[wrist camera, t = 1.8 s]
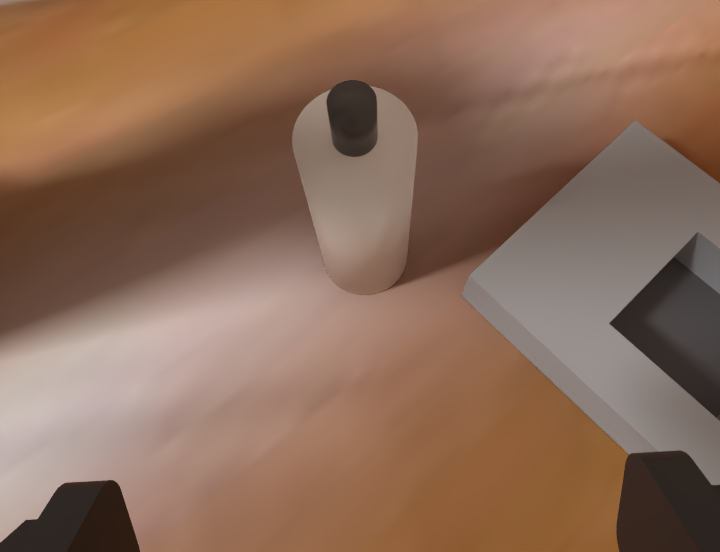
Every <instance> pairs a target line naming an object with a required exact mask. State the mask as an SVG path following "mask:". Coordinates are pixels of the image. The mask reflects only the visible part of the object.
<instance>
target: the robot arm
mask: <svg viewBox="0 0 720 552" xmlns="http://www.w3.org/2000/svg"><path fill="white" fill-rule="evenodd" d="M617 541H618V547H619V551H620V552H720V485H711V484H710V482H709V481H708V479H707V478H706V477H705V475H704V474H703V473H702V471H701V470H700V469H699V467H698V466H697V465H696V463H695V462H694V461H693V459H692V458H691V457H690V456H689V455H688V454H687V453H686V452H684V451H681V450H679V451H661V452H643V453H631V454H630V455H629V456H628V457H627V460H626V464H625V471H624V478H623V485H622V491H621V498H620V505H619V512H618V519H617ZM0 552H140V549H139V545H138V542H137V539H136V536H135V533H134V530H133V526H132V523H131V520H130V517H129V514H128V511H127V508H126V504H125V501H124V498H123V495H122V492H121V489H120V487H119V485H118V484H117V483H116V482H115V481H113V480H108V481H90V482H72V483H64V484H63V485H61V486H60V487H59V488H58V489H57V490H56V492H55V493H54V495H53V496H52V498H51V499H50V501H49V502H48V504H47V506H46V507H45V509H44V510H43V512H42V513H41V515H40V517H39V518H38V519H36V520H26V521H24V522H23V523H22V524H21V525H20V526H19V527H18V528H17V529H15V530H14V531H13V532H12V533H11V534H10V535H9V536H8V537H6V538H5V539H4V540H3V541H2V542H1V543H0Z"/></svg>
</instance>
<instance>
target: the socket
mask: <svg viewBox="0 0 720 552" xmlns="http://www.w3.org/2000/svg"><path fill="white" fill-rule="evenodd" d="M461 296H462V297H463V298H464V299H465V300H466V301H467V302H468V303H469V304H470V305H472V306H473V307H474V308H475V309H476V310H477V311H478V312H479V313H480V314H481V315H482V316H483V317H484V318H485V319H486V320H487V321H488V322H490V323H491V324H492V325H493V326H494V327H495V328H496V329H497V330H498V331H499V332H500V333H501V334H502V335H503V336H504V337H505V338H506V339H507V340H509V341H510V342H511V343H512V344H513V345H514V346H515V347H516V348H517V349H518V350H519V351H520V352H521V353H522V354H523V355H524V356H525V357H526V358H528V359H529V360H530V361H531V362H532V363H533V364H534V365H535V366H536V367H537V368H538V369H539V370H540V371H541V372H542V373H543V374H544V375H545V376H547V377H548V378H549V379H550V380H551V381H552V382H553V383H554V384H555V385H556V386H557V387H558V388H559V389H560V390H561V391H562V392H563V393H565V394H566V395H567V396H568V397H569V398H570V399H571V400H572V401H573V402H574V403H575V404H576V405H577V406H578V407H579V408H580V409H581V410H582V411H584V412H585V413H586V414H587V415H588V416H589V417H590V418H591V419H592V420H593V421H594V422H595V423H596V424H597V425H598V426H599V427H600V428H601V429H603V430H604V431H605V432H606V433H607V434H608V435H609V436H610V437H611V438H612V439H613V440H614V441H615V442H616V443H617V444H618V445H619V446H620V447H622V448H623V449H624V450H625V451H626V452H627V453H628V454H629V455H630V454H631V453H643V452H661V451H679V450H681V451H684V452H686V453H687V454H688V455H689V456H690V457H691V458H692V459H693V461H694V462H695V463H696V465H697V466H698V467H699V469H700V470H701V471H702V473H703V474H704V475H705V477H706V478H707V479H708V481H709V482H710V484H711V485H720V183H719V182H717V181H716V180H715V179H713V178H712V177H711V176H709V175H708V174H707V173H705V172H704V171H703V170H701V169H700V168H699V167H697V166H696V165H695V164H693V163H692V162H691V161H689V160H688V159H687V158H685V157H684V156H683V155H681V154H680V153H679V152H677V151H676V150H675V149H673V148H672V147H671V146H669V145H668V144H667V143H665V142H664V141H663V140H661V139H660V138H659V137H657V136H656V135H655V134H653V133H652V132H651V131H649V130H648V129H647V128H645V127H644V126H643V125H641V124H640V123H639V122H637V121H636V120H635V121H634V122H633V123H632V124H630V125H629V126H628V127H627V128H626V129H625V130H624V131H623V132H622V133H621V134H620V135H619V136H618V137H617V138H616V139H614V140H613V141H612V142H611V143H610V144H609V145H608V146H607V147H606V148H605V149H604V150H603V151H602V152H601V153H599V154H598V155H597V156H596V157H595V158H594V159H593V160H592V161H591V162H590V163H589V164H588V165H587V166H586V167H585V168H583V169H582V170H581V171H580V172H579V173H578V174H577V175H576V176H575V177H574V178H573V179H572V180H571V181H570V182H568V183H567V184H566V185H565V186H564V187H563V188H562V189H561V190H560V191H559V192H558V193H557V194H556V195H555V196H553V197H552V198H551V199H550V200H549V201H548V202H547V203H546V204H545V205H544V206H543V207H542V208H541V209H540V210H539V211H537V212H536V213H535V214H534V215H533V216H532V217H531V218H530V219H529V220H528V221H527V222H526V223H525V224H524V225H522V226H521V227H520V228H519V229H518V230H517V231H516V232H515V233H514V234H513V235H512V236H511V237H510V238H509V239H508V240H506V241H505V242H504V243H503V244H502V245H501V246H500V247H499V248H498V249H497V250H496V251H495V252H494V253H493V254H491V255H490V256H489V257H488V258H487V259H486V260H485V261H484V262H483V263H482V264H481V265H480V266H479V267H478V268H476V269H475V270H474V271H473V272H472V273H471V274H470V275H469V277H468V279H467V282H466V285H465V287H464V290H463V292H462V295H461Z"/></svg>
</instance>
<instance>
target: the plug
mask: <svg viewBox="0 0 720 552" xmlns="http://www.w3.org/2000/svg"><path fill="white" fill-rule="evenodd" d="M417 146H418V130H417V125H416V122H415V119H414V117H413V115H412V113H411V112H410V110H409V109H408V107H407V106H406V105H405V104H404V103H403V102H402V101H401V100H400V99H398V98H397V97H396V96H394V95H393V94H391V93H389V92H387V91H385V90H383V89H380V88H377V87H373V86H369V85H367V84H366V83H364V82H361V81H355V80H350V81H344V82H341V83H339V84H337V85H336V86H335V87H333V88H332V89H331V90H328V91H326V92H324V93H322V94H320V95H319V96H317V97H316V98H314V99H313V100H312V101H311V102H310V103H309V104H308V105H307V106H306V107H305V108H304V109H303V110H302V112H301V113H300V115H299V117H298V118H297V120H296V123H295V125H294V129H293V134H292V147H293V152H294V156H295V160H296V163H297V167H298V171H299V174H300V178H301V181H302V185H303V189H304V192H305V196H306V200H307V203H308V207H309V211H310V214H311V218H312V221H313V225H314V229H315V232H316V236H317V240H318V243H319V247H320V251H321V254H322V258H323V261H324V265H325V268H326V271H327V273H328V275H329V277H330V278H331V279H332V281H333V282H334V283H335V284H336V285H338V286H339V287H340V288H342V289H343V290H345V291H348V292H350V293H353V294H358V295H372V294H376V293H380V292H382V291H384V290H386V289H388V288H390V287H391V286H392V285H394V284H395V283H396V282H397V281H398V279H399V278H400V277H401V275H402V274H403V272H404V269H405V267H406V263H407V255H408V244H409V233H410V222H411V211H412V201H413V190H414V179H415V168H416V157H417Z"/></svg>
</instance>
